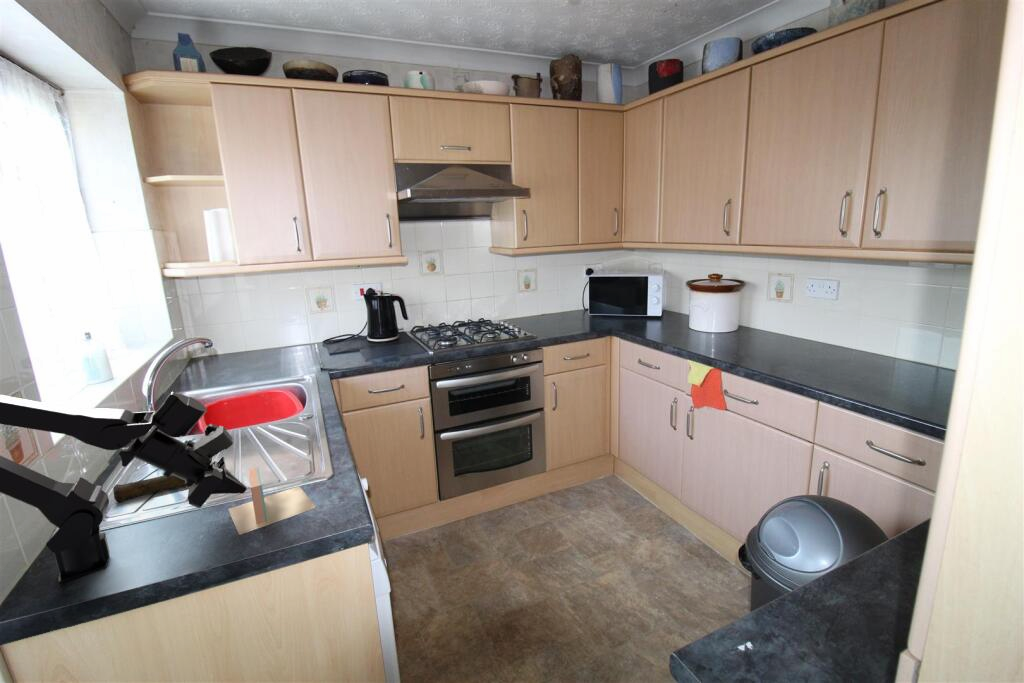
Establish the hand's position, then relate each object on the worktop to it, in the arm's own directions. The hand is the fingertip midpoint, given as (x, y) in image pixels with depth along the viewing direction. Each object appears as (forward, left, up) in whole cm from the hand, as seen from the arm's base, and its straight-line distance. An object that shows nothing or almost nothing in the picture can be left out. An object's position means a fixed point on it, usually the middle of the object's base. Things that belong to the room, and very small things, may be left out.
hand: (245, 490), depth 101 cm
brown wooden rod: (-12, +28, -7) cm, 32 cm away
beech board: (+4, 0, -7) cm, 8 cm away
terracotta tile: (+2, 0, -6) cm, 6 cm away
